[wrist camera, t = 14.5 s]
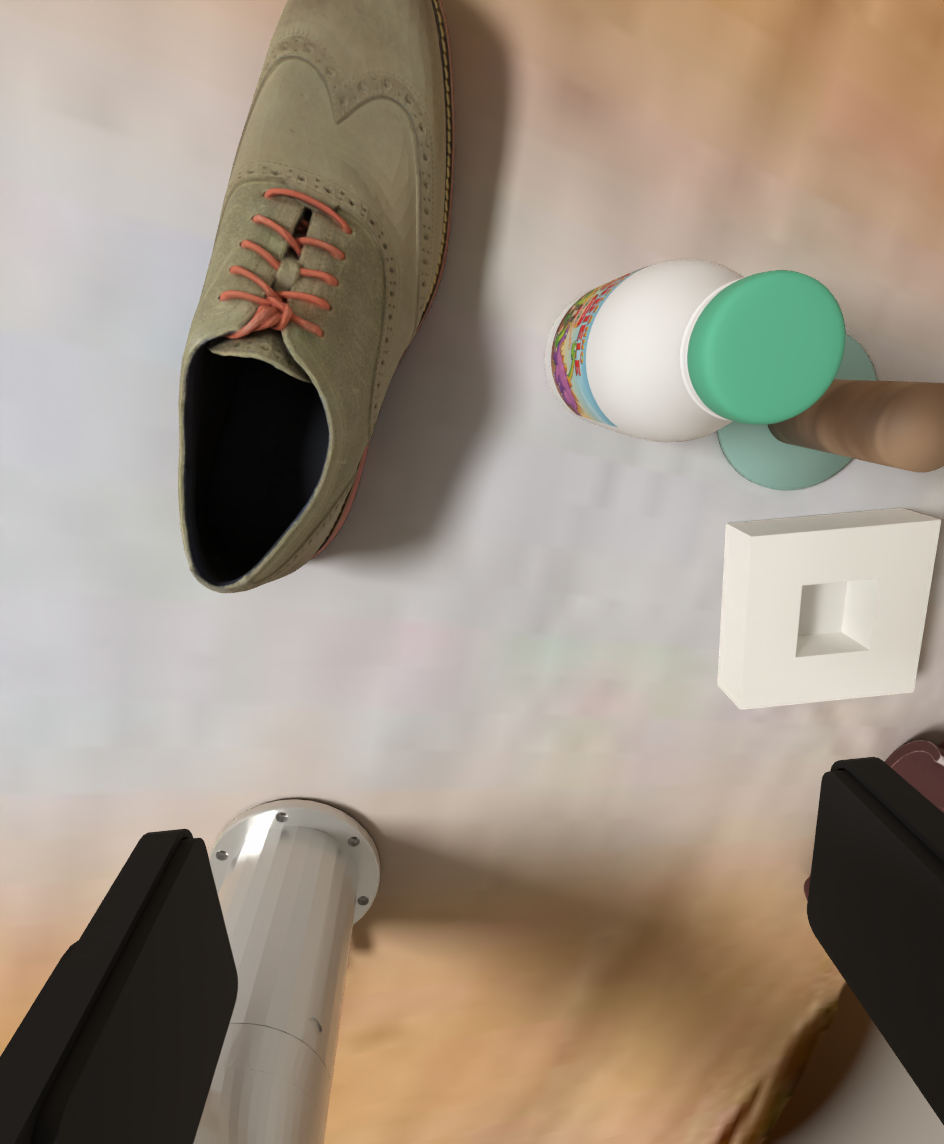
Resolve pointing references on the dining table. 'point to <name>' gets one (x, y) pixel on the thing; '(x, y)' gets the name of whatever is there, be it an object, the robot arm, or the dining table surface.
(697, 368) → the milk bottle
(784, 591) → the pocket block
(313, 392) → the oxford shoe
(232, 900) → the robot arm
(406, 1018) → the dining table surface
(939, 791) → the bracket
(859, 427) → the walnut dowel
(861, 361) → the felt pad
